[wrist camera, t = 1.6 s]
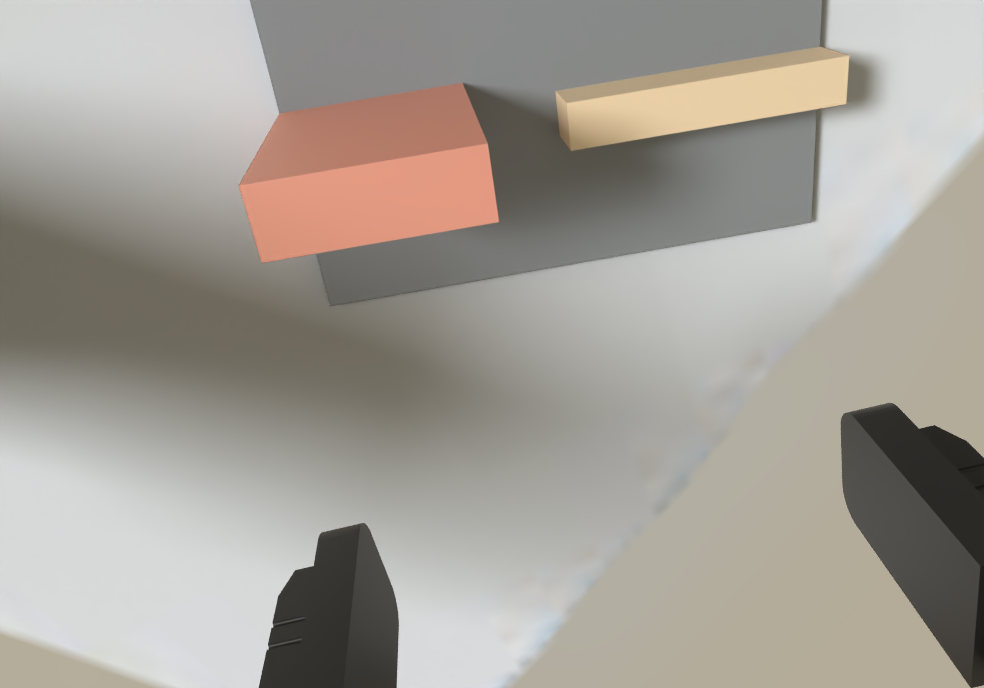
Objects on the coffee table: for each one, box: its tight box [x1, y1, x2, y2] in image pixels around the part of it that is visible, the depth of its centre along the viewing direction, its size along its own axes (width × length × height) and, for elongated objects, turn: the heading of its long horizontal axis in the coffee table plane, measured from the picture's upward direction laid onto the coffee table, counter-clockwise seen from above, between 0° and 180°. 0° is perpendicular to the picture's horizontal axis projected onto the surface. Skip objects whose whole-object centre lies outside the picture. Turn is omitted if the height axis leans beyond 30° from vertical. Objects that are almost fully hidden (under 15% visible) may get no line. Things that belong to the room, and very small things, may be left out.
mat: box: [250, 0, 849, 306], centre depth 26 cm, size 18×14×2 cm
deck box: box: [239, 83, 499, 263], centre depth 23 cm, size 6×2×8 cm, turn 98°
